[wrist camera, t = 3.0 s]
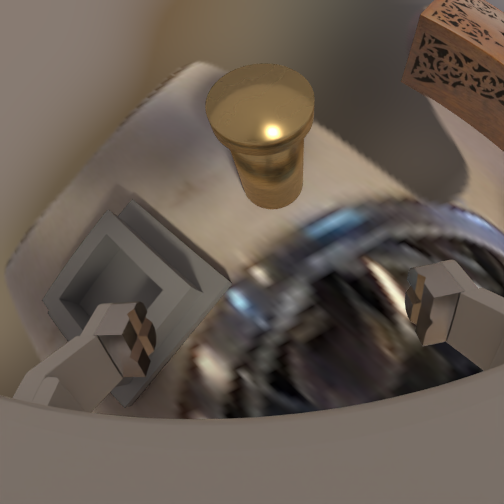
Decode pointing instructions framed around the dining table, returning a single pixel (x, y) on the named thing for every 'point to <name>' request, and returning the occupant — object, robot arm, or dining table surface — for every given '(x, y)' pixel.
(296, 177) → the gold stepped cylinder
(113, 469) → the robot arm
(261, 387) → the dining table surface
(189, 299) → the socket block
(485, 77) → the tissue box cover
